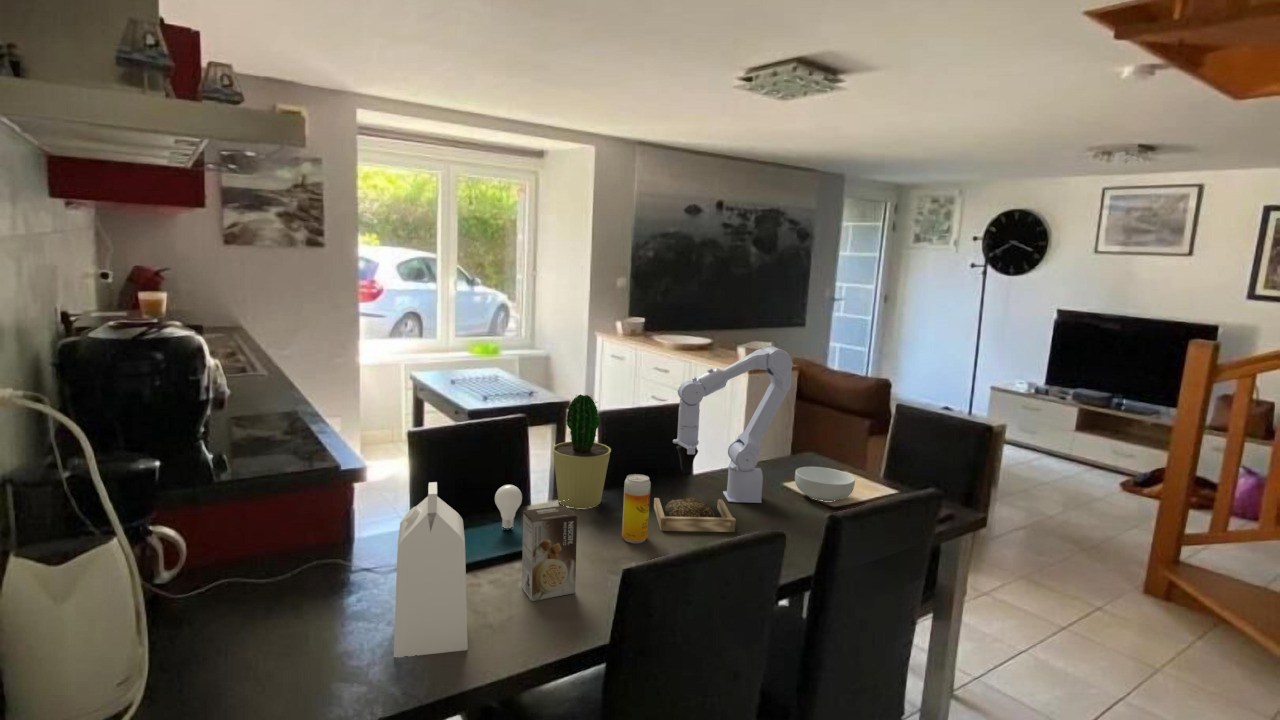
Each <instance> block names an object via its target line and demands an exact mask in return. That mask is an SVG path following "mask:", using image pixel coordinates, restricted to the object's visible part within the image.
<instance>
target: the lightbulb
mask: <svg viewBox="0 0 1280 720" xmlns="http://www.w3.org/2000/svg"><path fill="white" fill-rule="evenodd" d="M522 501H523V494H522V492H521V490H520V489H519V487H517V486H515V485H513V484H504V485H502V486H501V487H499V488H498V489H497V491H496V492H495V495H494V502H495V505H496V507H497V509H498V510H499V512H500V516H501V528H502V527H504V528H511V527H513V528H514V521H515V517H516V512H517V511H518V509H519V508H520V506H521V505H522V503H523V502H522Z"/></svg>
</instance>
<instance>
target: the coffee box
mask: <svg viewBox="0 0 1280 720" xmlns="http://www.w3.org/2000/svg"><path fill="white" fill-rule="evenodd" d="M522 511H523V513H522V514H523V515H522V559H521V560H522V561H521V563H522V564H521V588H522V590H523V591H524V592H525V594H526V595H527V597H528V599H529V600H530V601H531V602H536V601H540V600H541V601H542V600H546V599H551V598H556V597H561V596H566V595H571V594H572V595H573V594H575V593H576V581H577V580H576V577H577V576H576V575H577V573H576V572H577V542H578V541H577V536H578V515H577V514H576V513H575V512H574V511H573V509H570V508H567V507H566V506H565V505H564V506H562V505H558V506H557V505H556V506H552V507H551V506H550V507H542V508H541V507H540V508H533V509H526V510H522Z"/></svg>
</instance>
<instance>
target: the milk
mask: <svg viewBox="0 0 1280 720" xmlns="http://www.w3.org/2000/svg"><path fill="white" fill-rule="evenodd" d="M427 490H428V492H427V496H426V497H425V498H424V499H423V500H421V501H420V502H419V503H418V504H417V505H416V506H413V507H412V508H410V509H409V511H408V512H407V513H406V515H405V516H404V517H403V519H402V520H401V521H400V522H399V530H398V540H397V553H396V580H395V581H396V582H395V583H396V585H395V605H394V607H395V608H394V609H395V611H394V633H393V634H394V636H393V638H394V639H393V658H394V657H396V658H397V657H398V658H405V657H404V656H408V657H413V656H414V657H415V655H417V656H424V655H433V654H442V653H443V654H444V653H452V652H462V651H468V646H469V645H468V616H467V615H468V613H467V610H468V609H467V607H468V606H467V573H466V571H467V569H466V539H465V538H466V537H465V529H464V527H465V526H464V520H463V518H462V516H461V515H460V514H459V512H457V511H456V510H455V509H453V507H451V506H450V505H449V504H447V503H446V502H445V501H444V500H443V499H441V498H440V497H439V496H438V482H437V481H434V482H433V481H432V482H430V481H429V482H428V487H427ZM396 658H395V659H396Z"/></svg>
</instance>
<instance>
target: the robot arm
mask: <svg viewBox="0 0 1280 720" xmlns="http://www.w3.org/2000/svg"><path fill="white" fill-rule="evenodd" d="M793 366H794V363H793V360H792V358H791V356H790V354H789V352H787V351H786V350H784V349H780V348H778V347H776V346H774V345H766V346H763V348H760V349H755V351H752V352H751V353H749V354H747V355H746V356H743V357H742V358H740V359H739V360H738V361H735V362H733V363H732V364H730V365H728V366H727V367H724V368H722V369H720V368H717V367H715V368H712V367H710V368H708V369H707V370H706V371H707V372H705V373H702V374H701V375H699V376H697V377H696V376H694V377H692V378H691V380H686V381H684V382H681V384H680V386H679V387H678V389H677V395H678V397H679V407H678V416H677V417H678V418H677V419H678V421H677V438H676V439H673V440H672V443H673V444H677V445H676V450H677V452H678V457H679V464H680V470H681V472H682V474H690V473H691V471H692V467H693V463H694V460H695V458H696V457H697V455H698V453H699V450H698V445H699V428H700V412H701V411H700V406H701V405H700V403H701V402H702V401H703V399H704V398H705V397H707V396H709V395H711V394H713V393H716V392H717V391H719V390H721V389H723V388H725V387H726V386H727V383H728V381H729V380H732V379H734V378H735V377H738V376H741V375H743V374H745V373H747V372H750V371H751V370H755V369H756V370H764V371H766V372H767V375H768V378H769V380H770V381H769V382H770V384H768V387H767V389H766V391H765V393H764V395H763V396H762V398H761V400H760V402H759V403H758V406H757V408H756V409H755V411H754V413H753V415H752V417H751V418H750V420H749V422H748V424H747V426H746V428H745V430H744V431H743V432H741V433H740V434H739V435H738V436H737V438H736V439H735V440H734V441H732V443H730V444H729V446H728V448H727V455H728V457H729V459H730V462H729V463H728V470H727V471H728V473H727V486H726V490H723V491H722V493H723V496H724V497H725V498H726V500H727V502H729V503H749V504H750V503H753V504H755V503H757V504H758V503H759V504H762V502H763V501H762V494H763V483H764V481H763V480H764V479H763V478H764V476H763V475H764V474H763V471H762V469H761V467H756V466H757V465H758V461H759V455H760V453H761V449H762V440H763V438H764V436H765V434H766V432H767V431H768V429H769V428H770V425H771V423H772V421H773V420H774V418H775V416H776V415H777V413H778V411H779V409H780V408H781V405H782V403H783V402H784V400H785V398H786V396H787V394H788V393H789V391H790V389H791V387H792V380H793V379H792V378H793V377H792V375H793V373H792V372H793V371H792V368H793Z"/></svg>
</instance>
